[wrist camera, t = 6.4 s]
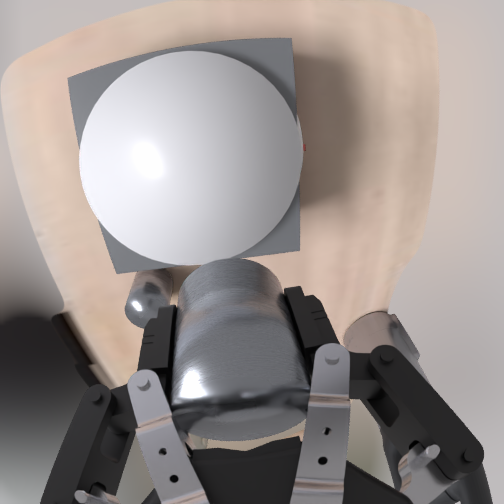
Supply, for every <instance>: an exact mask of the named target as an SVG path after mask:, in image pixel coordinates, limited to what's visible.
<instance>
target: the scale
mask: <svg viewBox="0 0 504 504" xmlns="http://www.w3.org/2000/svg"><path fill="white" fill-rule="evenodd" d="M68 86H69V93H70V100H71V107H72V113H73V119H74V124H75V130H76V135H77V140H78V145H79V149H80V156H79V164H80V175H81V181H82V185H83V189H84V192H85V195H86V198H87V200H88V202H89V204H90V206H91V208H92V210H93V212H94V214H95V215H96V217H97V218H98V221H99V224H100V228H101V231H102V234H103V237H104V240H105V243H106V246H107V249H108V251H109V254H110V257H111V260H112V263H113V265H114V268H115V271H116V273H117V274H120V273H129V272H137V271H145V270H153V269H161V268H169V267H177V266H184V265H204V264H207V263H209V262H212V261H215V260H220V259H227V258H247V257H255V256H263V255H270V254H278V253H286V252H293V251H300V188H299V179H300V173H301V169H302V164H303V151H306V150H305V144H304V143H303V139H302V131H301V126H300V122H299V118H298V115H297V108H296V91H295V76H294V63H293V50H292V39H291V38H260V39H241V40H229V41H219V42H210V43H202V44H195V45H189V46H182V47H177V48H171V49H166V50H161V51H156V52H152V53H147V54H143V55H139V56H135V57H131V58H127V59H124V60H120V61H117V62H113V63H110V64H107V65H103V66H100V67H97V68H94V69H91V70H88V71H85V72H83V73H80V74H77V75H74V76H72V77H69V78H68Z"/></svg>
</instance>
